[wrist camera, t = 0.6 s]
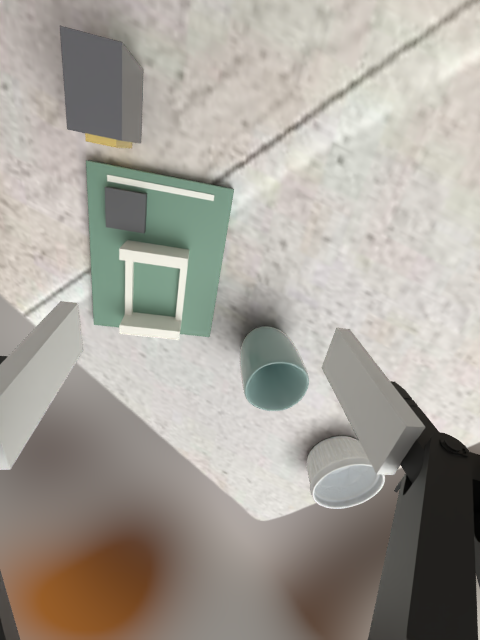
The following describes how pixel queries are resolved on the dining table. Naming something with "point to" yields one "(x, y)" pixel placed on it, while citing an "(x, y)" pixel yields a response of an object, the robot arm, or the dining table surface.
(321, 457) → the ramekin
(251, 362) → the cup
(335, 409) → the dining table surface
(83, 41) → the plug
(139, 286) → the board
